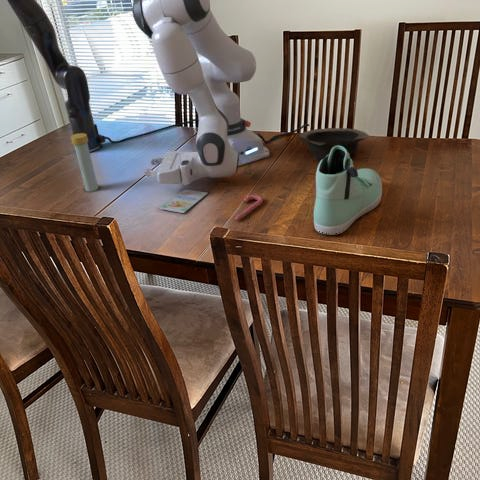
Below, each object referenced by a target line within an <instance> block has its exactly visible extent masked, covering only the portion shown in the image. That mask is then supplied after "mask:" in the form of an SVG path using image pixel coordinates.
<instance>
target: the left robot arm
mask: <svg viewBox="0 0 480 480" xmlns="http://www.w3.org/2000/svg"><path fill="white" fill-rule="evenodd" d="M6 1H7V3H8V5H9V6H10V7H11V10H12V11H13V12H14V14H15V16H16V18H17V19H18V21H19V23H20V24H21V26H22V27H23V29H24V31H25V33H26V34H27V35H28V37H29V38H30V40H31V42H32V43H33V45H34V46H35V48H36V49H37V51H38V52H39V54H40V55H41V57H42V59H43V60H44V62H45V64H46V65H47V67H48V70H49V72H50V73H51V76H52V78H53V80H54V82H55V83H56V85H58V86H59V88H60V89H63V90H65V91H66V96H67V100H65V102H64V106H65V110H66V114H67V115H66V116H67V118H68V122H69V126H70V130H71V133H72V135H75V134H79V133H85V134H87V138H88V142H87V144H88V148H89V152H90V153H92V152H96V151H97V150H99V149H100V148H102V144H103V143H106V141H107V140H108V141H109V142H110V143H111V144H118V143H122V142H126V141H129V140H132V139H133V140H134V139H136V138H140V137H141V138H142V137H143V136H148V135H151V134H154V133H158V132H160V131H164V130H167V129H171V128H174V127H179V126H183V125H188V124H191V123H193V122H197V123H199V119H197V118H193V119H190V120H188V121H183V122H180V123H175V124H172V125H167V126H165V127H161V128H158V129H153V130H150V131H147V132H144V133H140V134H136V135H133V136H128V137H125V138H122V139H120V140H112V139H111V138H110V137H109V136H105V135H103V134H100V133H99V129H98V125H97V123H95V121H94V116H93V113H92V108H91V104H90V102H91V101H90V100H91V94H90V89H89V84H88V78H87V75H86V73H85V71H84V70H83V69H82V68H81V67H79V66H77V65H72V64H70V63H69V61H67V59H66V58H65V56H64V55H63V53H62V51H61V49H60V46H59V43H58V37H57V33H56V30H55V27H54V25H53V23H52V21H51V19H50V18H49V16H48V14H47V13H46V11H45V10H44V9H43V7H42V6H41V5H40V4H39V3H38V2H37V0H6Z"/></svg>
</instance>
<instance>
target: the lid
mask: <svg viewBox="0 0 480 480" xmlns="http://www.w3.org/2000/svg"><path fill="white" fill-rule="evenodd" d="M70 141H71V144H72V145H73V146H74V145H82V144H85V143H87V142H88V138H87V134H85V133H79V134H75V135H73V134H72V135H71V136H70Z"/></svg>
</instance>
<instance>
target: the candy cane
mask: <svg viewBox="0 0 480 480" xmlns="http://www.w3.org/2000/svg"><path fill="white" fill-rule="evenodd" d="M252 200H255V201H256V202H253V204H251V205H250V206H248V207H247V208H245V209H244V210H243V211H242V212H239V214H237V215H236V216H235V219H234V220H235V221H238V222H239V221H240V220H242V219H243V218H244V217H245V216H247V215H248V214H249V213H251V212H252V211H254V210H255V209H256V208H258V207H259V206H260V205H262V204H263V202H264V199H263V197H262V196H260V195H257V194H251V195H247V196H245V197H243V203H245V204H246V203H248V202H249V201H252Z"/></svg>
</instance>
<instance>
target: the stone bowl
mask: <svg viewBox="0 0 480 480" xmlns="http://www.w3.org/2000/svg"><path fill="white" fill-rule="evenodd" d="M368 138H370V134H368V133H367V132H365V131H363V130H360V129H357V128H356V129H355V128H348V127H347V128H345V127H344V128H343V127H340V128H339V127H327V128H315V129H311V130H307V131H306V130H305V131H303V132H301V133H299V136H298V139H299V140H301V141H304V142H306V143H307V148H308V151H309V152H310V153H311V154H312V155H313V156H315V159H316V161H318V162H320V161H321V160H322V159H324V158H325V157H326V156H327V155H329V154H330V152H331V149H332V148H333V147H334V146H342V147H344V148H345V149H346V150H347V152H348V153H349V156H350V157H354V156H355V155H357V150H358V146H359V145H358V143H359V142H362V141H364V140H366V139H368Z"/></svg>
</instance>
